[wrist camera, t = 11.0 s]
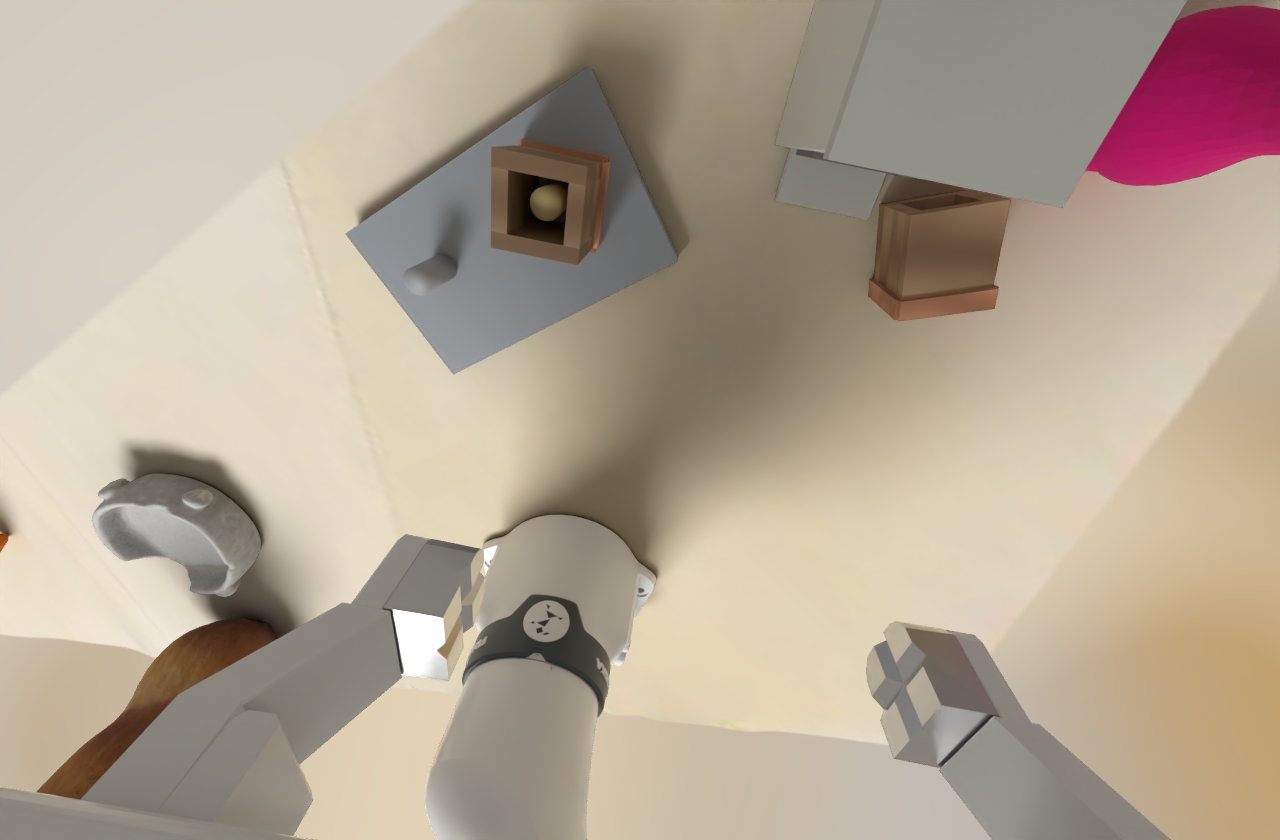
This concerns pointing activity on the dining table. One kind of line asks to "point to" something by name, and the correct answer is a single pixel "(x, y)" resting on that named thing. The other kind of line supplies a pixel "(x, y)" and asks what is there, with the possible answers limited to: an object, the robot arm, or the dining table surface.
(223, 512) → the dish
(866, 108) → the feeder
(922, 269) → the sleeve
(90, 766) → the butternut squash
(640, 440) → the dining table surface
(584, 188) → the sleeve
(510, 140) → the pin board
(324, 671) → the robot arm
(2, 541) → the carrot
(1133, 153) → the pepper mill
